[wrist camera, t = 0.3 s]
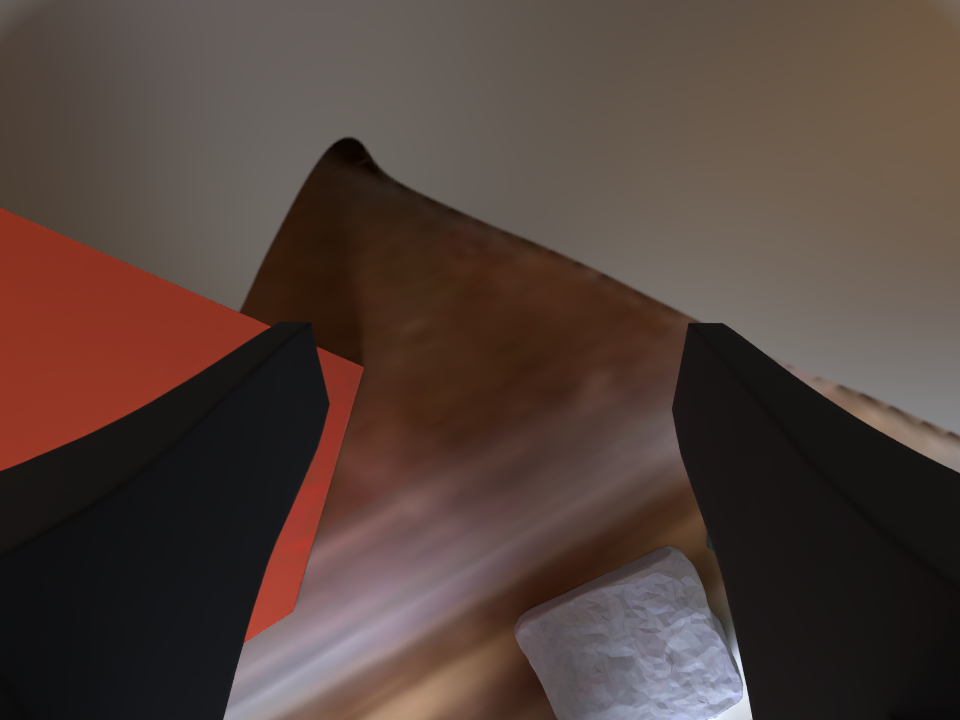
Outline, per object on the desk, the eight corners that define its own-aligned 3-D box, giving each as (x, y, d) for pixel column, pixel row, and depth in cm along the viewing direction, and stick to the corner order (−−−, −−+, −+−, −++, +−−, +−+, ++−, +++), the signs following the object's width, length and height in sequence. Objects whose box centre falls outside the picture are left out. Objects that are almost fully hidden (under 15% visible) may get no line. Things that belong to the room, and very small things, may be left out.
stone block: (739, 662, 38) (669, 526, 37) (772, 711, 33) (693, 554, 33) (574, 737, 38) (505, 604, 38) (583, 795, 34) (505, 643, 33)
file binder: (190, 576, 41) (-1006, 1008, 9) (263, 341, 43) (-517, 48, 11) (294, 610, 40) (-668, 1237, 8) (365, 367, 42) (-190, 121, 10)
